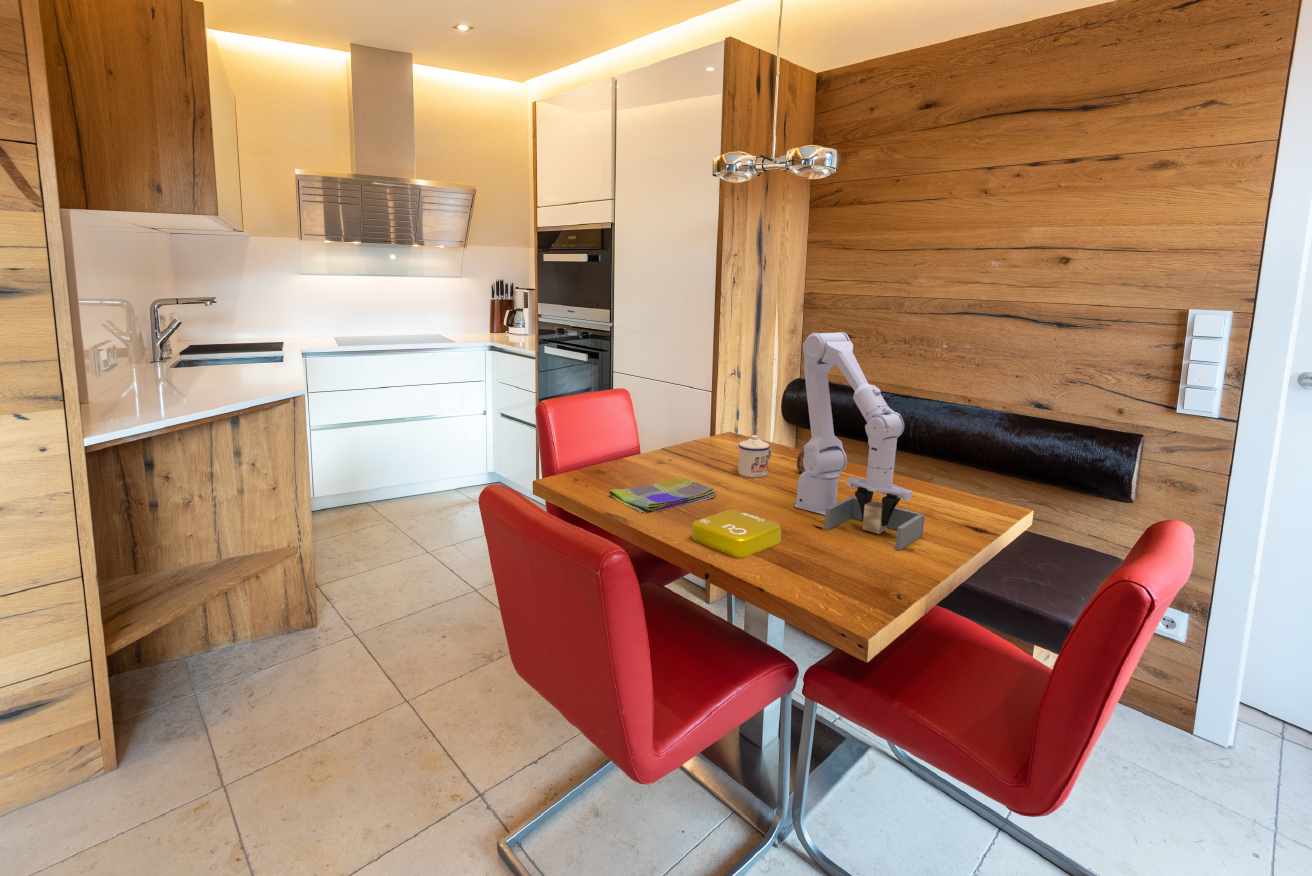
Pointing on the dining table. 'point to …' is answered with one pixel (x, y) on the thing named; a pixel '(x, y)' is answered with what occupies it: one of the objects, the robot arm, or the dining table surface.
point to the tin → (800, 459)
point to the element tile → (736, 532)
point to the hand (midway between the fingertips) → (875, 522)
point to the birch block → (873, 517)
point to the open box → (900, 520)
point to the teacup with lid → (753, 457)
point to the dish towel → (663, 494)
